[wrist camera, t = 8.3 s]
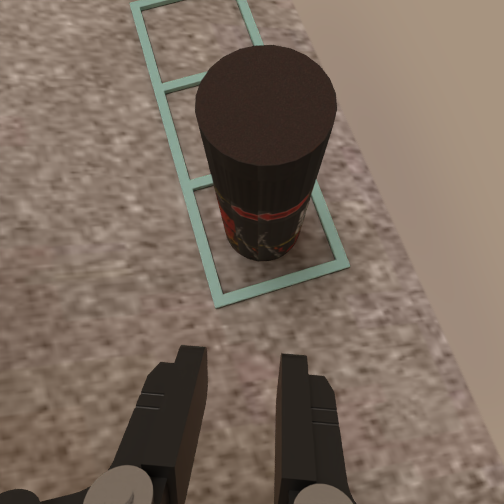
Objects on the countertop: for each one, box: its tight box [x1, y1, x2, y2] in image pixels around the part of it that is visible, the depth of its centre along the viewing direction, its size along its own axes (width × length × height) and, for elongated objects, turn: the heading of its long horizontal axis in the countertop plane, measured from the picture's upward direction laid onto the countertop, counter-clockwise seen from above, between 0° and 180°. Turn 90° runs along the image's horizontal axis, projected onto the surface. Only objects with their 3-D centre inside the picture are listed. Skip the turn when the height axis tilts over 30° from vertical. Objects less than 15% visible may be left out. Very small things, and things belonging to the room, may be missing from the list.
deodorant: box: [195, 45, 337, 261], centre depth 23 cm, size 6×6×15 cm
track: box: [130, 0, 350, 309], centre depth 33 cm, size 30×11×1 cm, turn 17°
